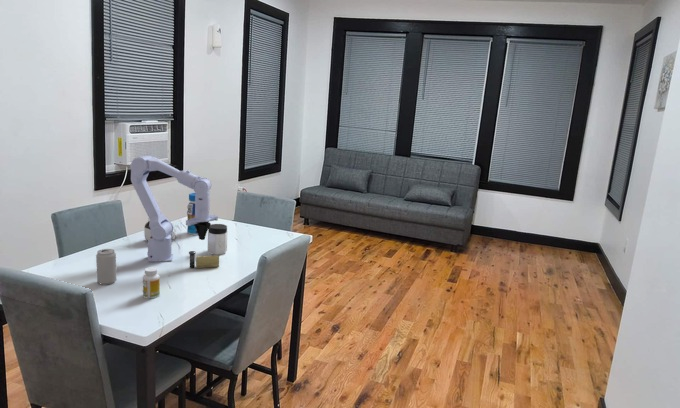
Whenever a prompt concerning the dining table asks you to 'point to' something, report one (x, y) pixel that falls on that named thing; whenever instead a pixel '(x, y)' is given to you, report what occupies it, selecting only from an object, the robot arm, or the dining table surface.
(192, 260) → the hinge base
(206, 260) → the brass leaf
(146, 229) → the spread jar
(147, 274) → the supplement bottle
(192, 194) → the beverage bottle
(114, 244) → the dining table surface
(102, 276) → the beverage can
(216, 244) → the jar
